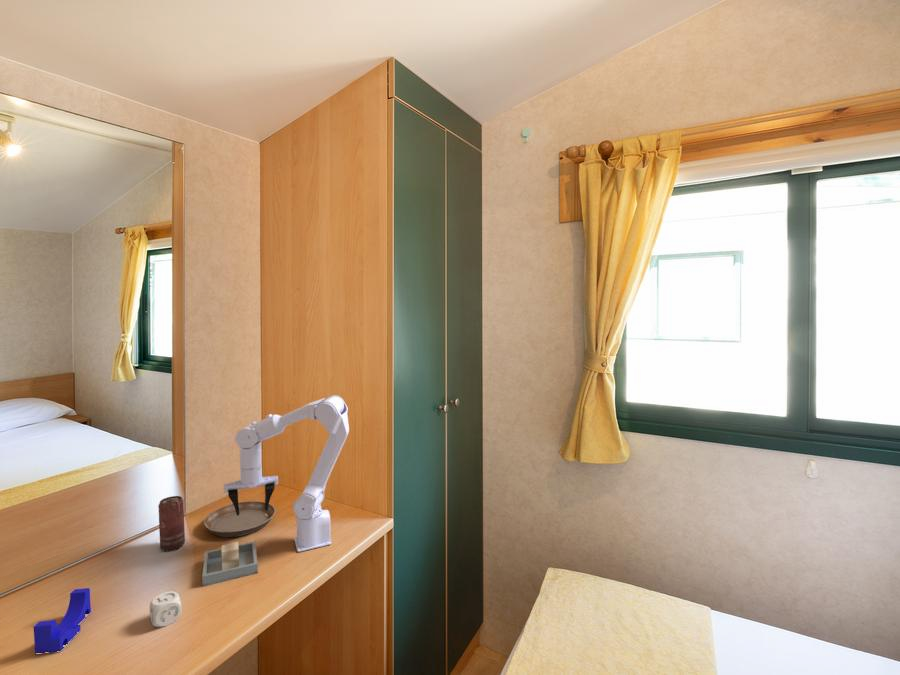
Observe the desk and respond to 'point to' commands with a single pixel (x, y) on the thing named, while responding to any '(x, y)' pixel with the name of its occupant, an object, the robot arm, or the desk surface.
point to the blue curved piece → (63, 624)
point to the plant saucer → (239, 519)
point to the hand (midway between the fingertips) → (252, 511)
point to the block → (230, 556)
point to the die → (165, 609)
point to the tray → (216, 574)
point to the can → (171, 523)
